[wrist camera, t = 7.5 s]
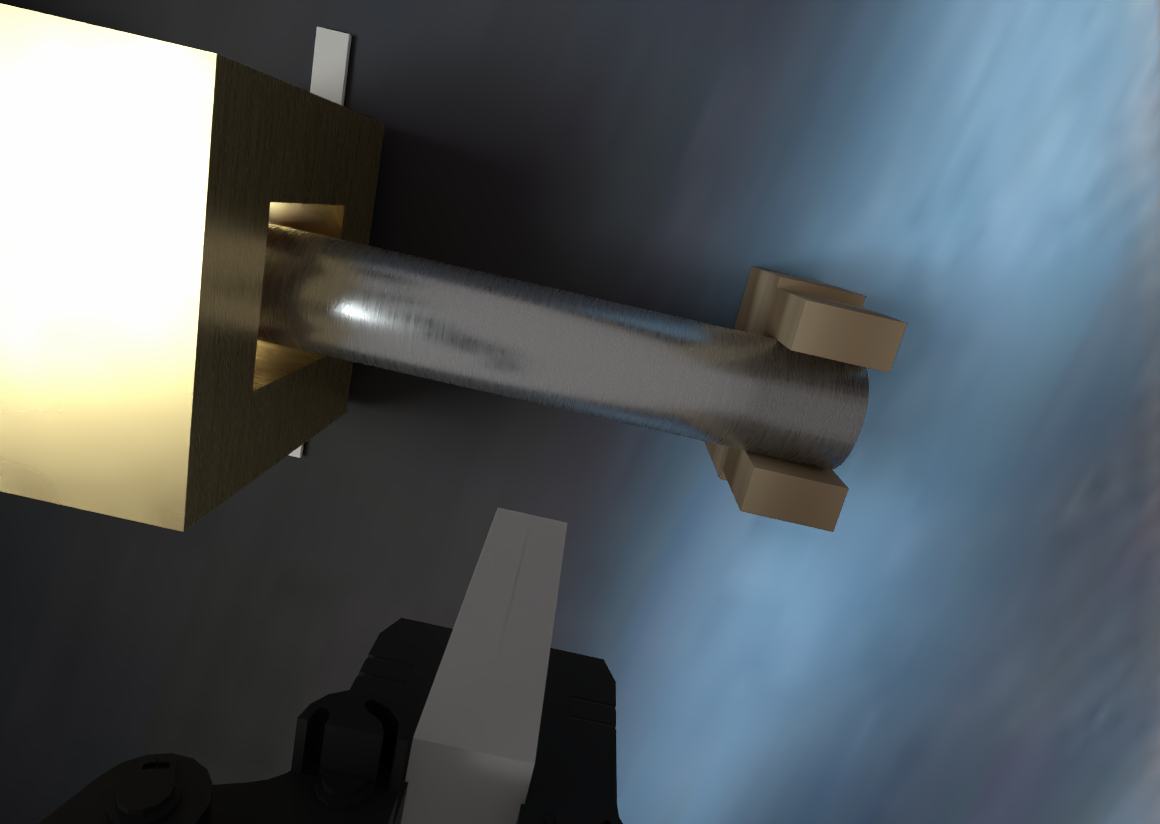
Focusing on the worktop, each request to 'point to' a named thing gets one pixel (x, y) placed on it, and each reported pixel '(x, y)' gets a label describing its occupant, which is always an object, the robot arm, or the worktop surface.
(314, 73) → the tick mark
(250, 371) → the collar
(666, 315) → the pipe
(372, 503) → the worktop surface
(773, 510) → the cradles
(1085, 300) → the worktop surface
